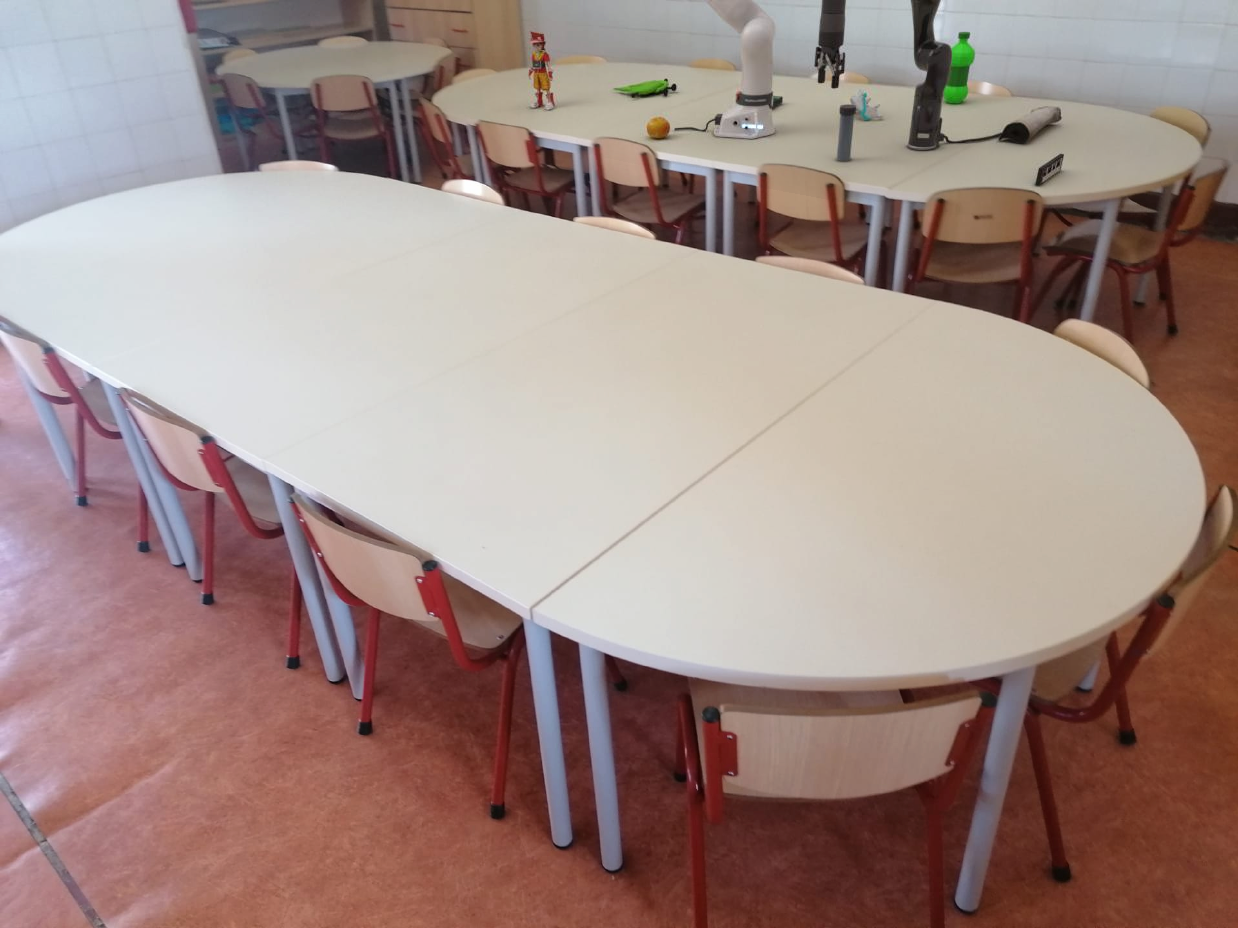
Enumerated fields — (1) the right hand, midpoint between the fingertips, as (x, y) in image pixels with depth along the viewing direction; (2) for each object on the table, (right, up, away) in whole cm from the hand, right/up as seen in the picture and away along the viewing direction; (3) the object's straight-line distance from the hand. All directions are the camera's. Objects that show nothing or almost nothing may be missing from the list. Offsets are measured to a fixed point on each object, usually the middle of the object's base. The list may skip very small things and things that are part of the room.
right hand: (827, 85), depth 280 cm
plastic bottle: (+68, +25, +75) cm, 104 cm away
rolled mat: (+79, -2, +35) cm, 87 cm away
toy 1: (-98, +34, +103) cm, 146 cm away
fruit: (-51, +4, +55) cm, 75 cm away
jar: (+10, -16, +21) cm, 28 cm away
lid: (+9, -2, +12) cm, 15 cm away
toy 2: (-56, +47, +117) cm, 138 cm away
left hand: (+13, +42, +20) cm, 48 cm away
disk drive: (-6, +27, +85) cm, 89 cm away
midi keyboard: (+67, -30, -5) cm, 73 cm away
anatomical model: (+29, +15, +65) cm, 73 cm away
